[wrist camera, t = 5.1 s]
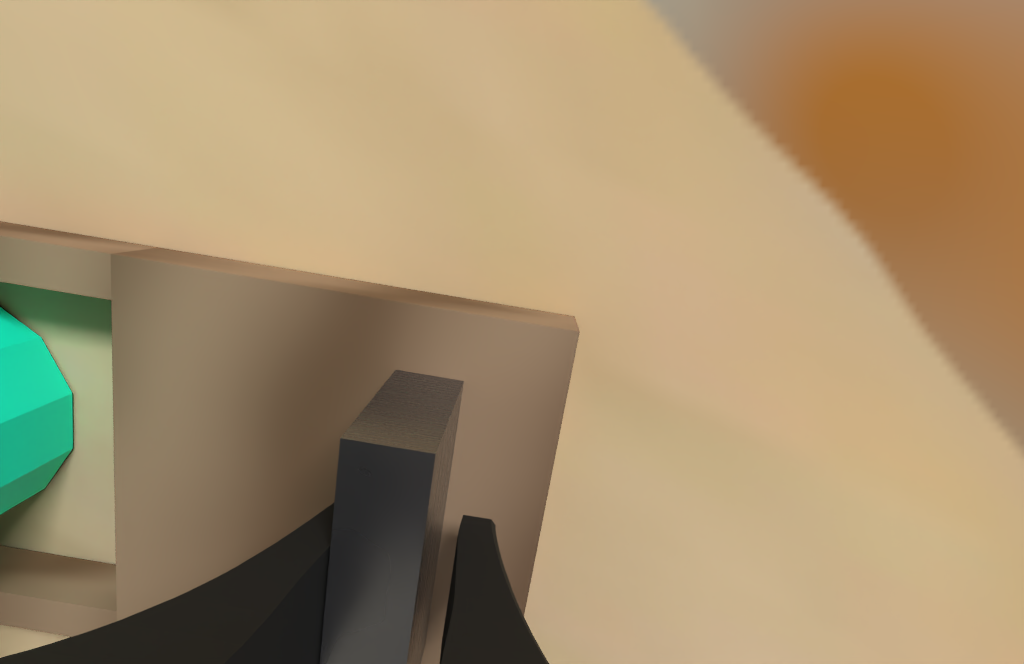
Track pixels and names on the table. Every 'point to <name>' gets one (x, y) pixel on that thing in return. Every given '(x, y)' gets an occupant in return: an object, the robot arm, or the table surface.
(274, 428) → the brown compartment tray
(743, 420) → the table surface
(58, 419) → the candle
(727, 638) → the table surface
